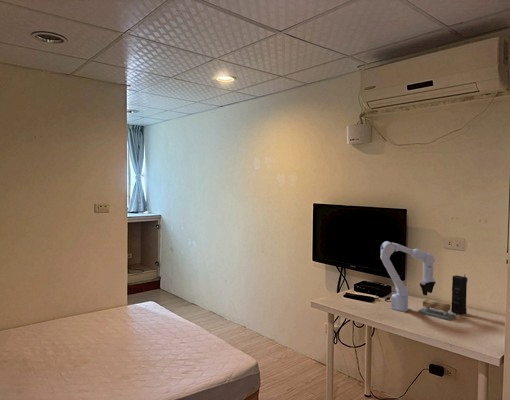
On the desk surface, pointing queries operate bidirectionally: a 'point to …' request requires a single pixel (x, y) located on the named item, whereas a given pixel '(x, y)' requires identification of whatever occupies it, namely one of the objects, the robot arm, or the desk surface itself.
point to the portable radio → (459, 295)
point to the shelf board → (436, 305)
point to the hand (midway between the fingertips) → (427, 293)
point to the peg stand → (436, 313)
